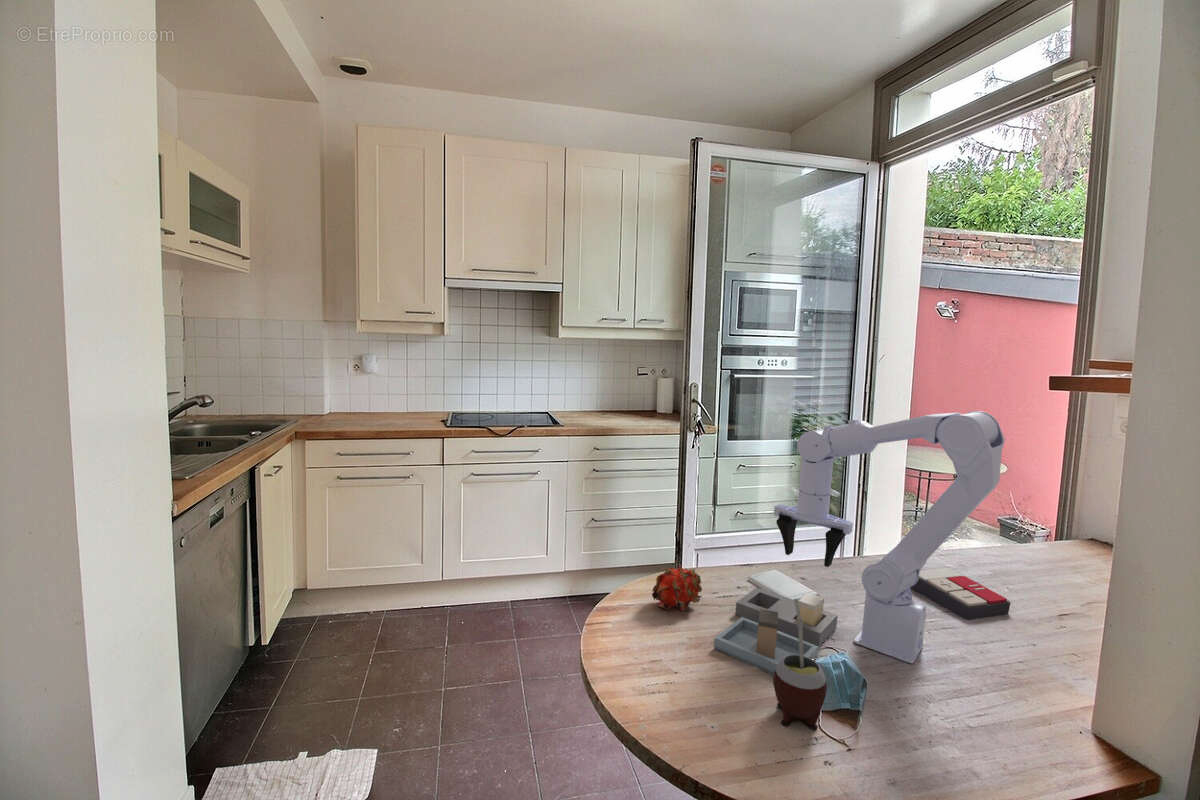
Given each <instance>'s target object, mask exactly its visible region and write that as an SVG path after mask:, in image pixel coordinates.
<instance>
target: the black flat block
mask: <svg viewBox="0 0 1200 800" xmlns="http://www.w3.org/2000/svg"><path fill="white" fill-rule="evenodd" d="M910 590H911V591H913V592H916V593H917V594H919V595H920V596H924V597H926V598H928V599H929V600H930V601H932V602H934V603H935V604H937V605H939V606H941V607H942V608H944V609H945V610H948V611H949V612H951V613H953V614H955V615H957V616H958V617H960V618H962V619H964V620H966V621H970V620H971V621H972V620H979V619H986V618H993V617H1000V616H1001V617H1002V616H1006V615H1009V611H1010V607H1011V602H1010V601H1009V600H1008V598H1006V597H1005V596H1003V595H1001V594H999V593H997V592H995V591H993V590H992V589H990V588H987V587H986V586H985V585H983V584H980V583H978V582H977V581H976V580H973V579H971V578H970V577H967V576H965V575H962V574H960V573H958V572H956V571H954V570H952V569H951V568H948V567H946V568H944V567H943V568H933V569H924V570H920V573H919V579H918V581H917V583H916V584H915V585H913V586H911V589H910Z"/></svg>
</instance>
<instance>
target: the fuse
mask: <svg viewBox="0 0 1200 800" xmlns="http://www.w3.org/2000/svg"><path fill="white" fill-rule="evenodd" d="M824 601H825V597H822V596H820V595H819V596H817V595H814V594H811V593H807V594H806V595H805V596H803V597H802V598H801V599H800V600H799V602H798V604H799V608H800V613H801V618H802V621H803V623H806V624H809V625H812V626H814V627H816V626H817V625H818V624H819V623H820V622H821V621H822V615H823V610H824V604H825V603H824ZM797 620H798V617H797Z"/></svg>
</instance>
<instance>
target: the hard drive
mask: <svg viewBox="0 0 1200 800" xmlns="http://www.w3.org/2000/svg"><path fill="white" fill-rule="evenodd" d="M747 581H749V582H750V583H752V584H754V585H756V586H757V587H758V588H760V589H763V590H766V591H769V592H772V593H775V594H778V595H781V596H784V597H787V598H790V599H792V600H794V599H797V600H798V602H799V600H800V599H801V598H802V597H803V596H805V595H806V594H807V593H811V594H814V595H817V596H820V594H819V593H818V592H816V591H814V590H813V589H810V588H809V587H807V586H805V585H803V584H802V583H800V582H799V581H796V580H795V579H793V578H791V577H789V576H787V575H785V574H783V573H782V572H780V571H778V570H776V569H772V570H768V571H764V572H759V573H754V574H750V575H748V577H747Z"/></svg>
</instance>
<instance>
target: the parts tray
mask: <svg viewBox="0 0 1200 800" xmlns="http://www.w3.org/2000/svg"><path fill="white" fill-rule="evenodd" d="M757 636H758V623H757V622H754V621H751V620H749V619H746V618H744V617H740V618H738V619H737V620H735V621H734V622H733V623H732V624H731V625H729V626H728V627H726V628H725V629H724V630H723V631H722V632H720V633H719V634H717V636H715V637H714V642H713V643H714V644H713V649H714V650H716V651H719V652H720V653H722V654H725V655H727V656H729V657H732V658H734V659H737V660H739V661H740V662H743V663H746V664H747V665H750V666H752V667H755V668H757V669H759V670H760V671H761V670H762V671H763V672H766V673H768V674H770V675H773V676H774V673H775V670H776V667H777V665H778V663H779V662H780V660H781V659H783V658H784V657H786V656H788V655H799V639H798V638H795V637H793V636H790V635H788V634H785V633H782V632H780V631H777V638H776V650H775V659H772V658H768V657H766V656H763V655H761V654H758V653H756V648H757ZM818 653H819V647H818V646H816V645H814V644H811V643H808V642H806V641H803V656H805V657H808V658H810V659H814V658H816V659H818Z"/></svg>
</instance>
